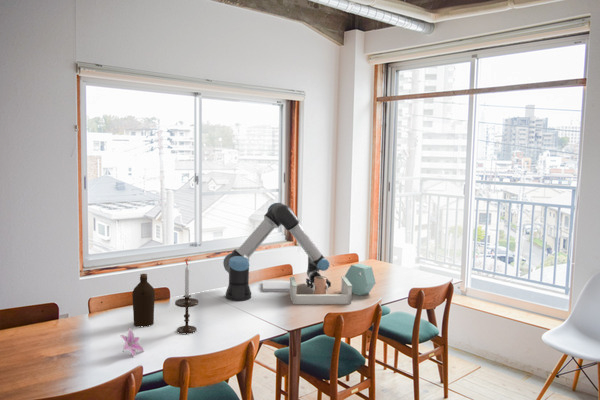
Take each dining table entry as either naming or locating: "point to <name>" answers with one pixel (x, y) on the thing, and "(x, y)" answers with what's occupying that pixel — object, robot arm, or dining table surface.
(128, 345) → the lily
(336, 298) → the grey u-shaped bracket
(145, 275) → the olive oil
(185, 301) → the candlestick
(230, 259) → the robot arm
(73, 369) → the dining table surface
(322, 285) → the pot
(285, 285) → the potting board
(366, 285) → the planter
